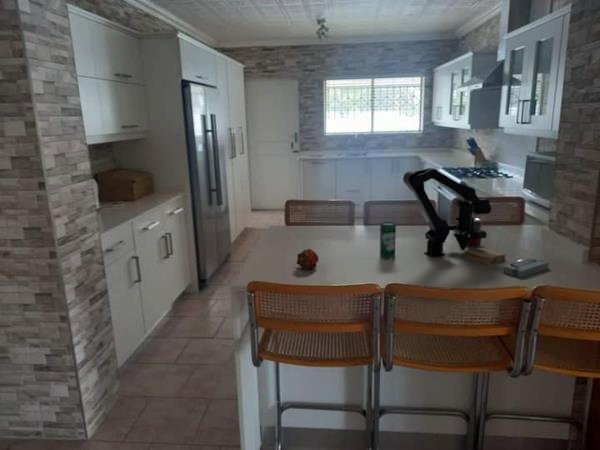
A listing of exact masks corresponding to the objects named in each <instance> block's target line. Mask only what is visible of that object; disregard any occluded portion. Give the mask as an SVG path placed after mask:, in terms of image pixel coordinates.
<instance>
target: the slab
mask: <svg viewBox="0 0 600 450" xmlns="http://www.w3.org/2000/svg"><path fill="white" fill-rule="evenodd" d="M463 255H464V256H463V257H464V258H466V259H470V260H473V261H476V262H479V263H482V264H485V265H492V264H495V263H499V262H502V261H505V260H506V259H505V258H506V254H505V253H503V252H499V251H495V250H492V249H488V248H483V247H480V246H479V247H476V248H472V249H469V250H464V254H463Z"/></svg>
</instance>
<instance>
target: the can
mask: <svg viewBox="0 0 600 450" xmlns="http://www.w3.org/2000/svg"><path fill="white" fill-rule="evenodd" d="M396 224H397V223H396V222H393V221H383V222H380V225H379V227H380V229H379V231H380V232H379V233H380V234H379V239H380V240H379V243H380V244H379V258H380V257H381V258H380V259H382V258H385V259H384V260H386V259H387V260H388V259H390V260H392V259H391V258H394V259H395V258H396V233H397V231H396V227H397V225H396Z"/></svg>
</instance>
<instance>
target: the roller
mask: <svg viewBox="0 0 600 450" xmlns="http://www.w3.org/2000/svg"><path fill="white" fill-rule="evenodd" d="M532 258H533V257H525V258H523V259H519V260H515V261H513V262H511V263H510V266H511V267H515V268H518V267H521V266H524V265H528V264H531V263H534V261H533V259H532Z"/></svg>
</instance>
